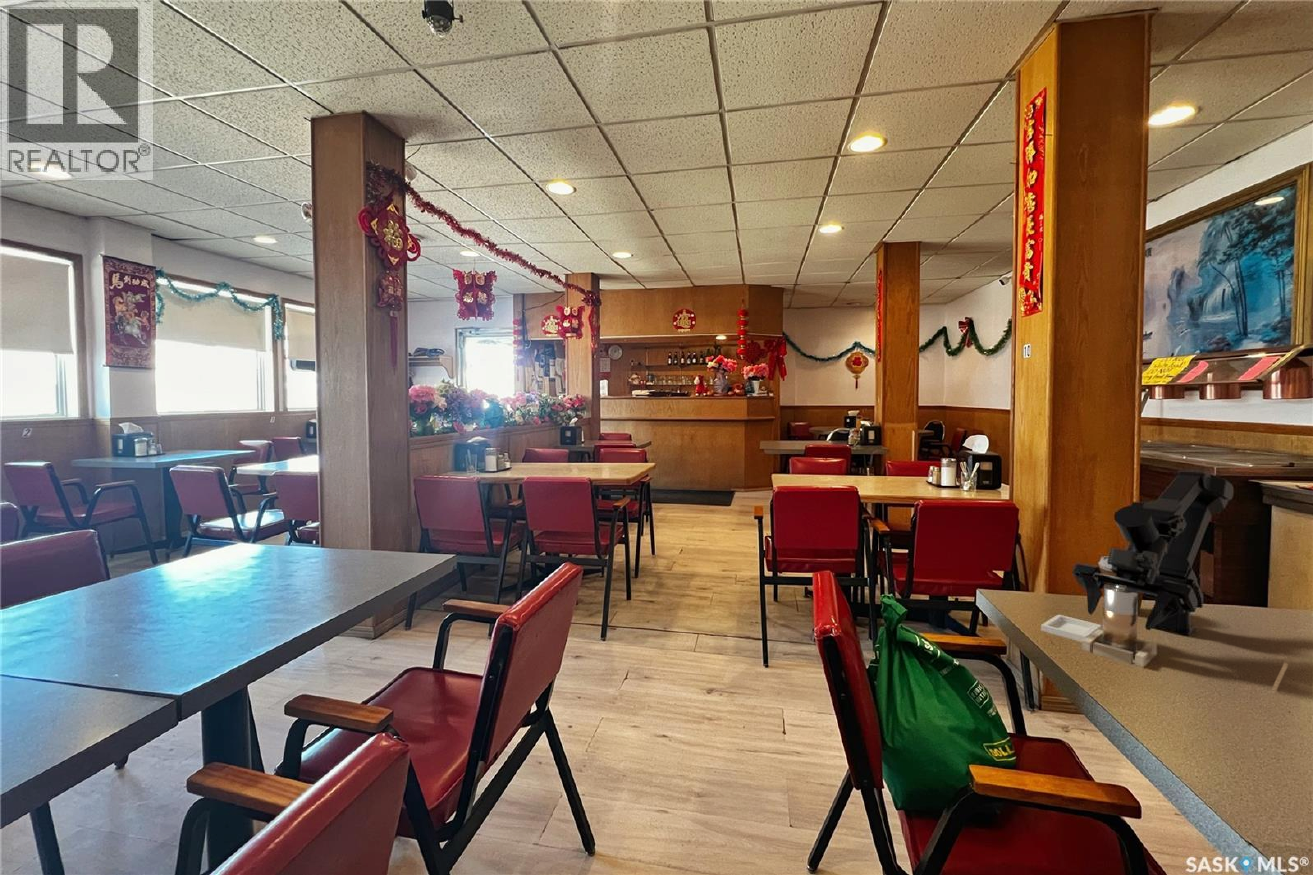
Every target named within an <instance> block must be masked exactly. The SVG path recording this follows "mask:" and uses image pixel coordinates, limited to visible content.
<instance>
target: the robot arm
mask: <svg viewBox="0 0 1313 875" xmlns="http://www.w3.org/2000/svg"><path fill="white" fill-rule="evenodd" d="M1233 497H1234V486H1233V484H1232V483H1230V482H1229V481H1228V480H1226V479H1225V478H1219V477H1217V476H1214V475H1211V474H1210V473H1208V472H1205V471H1197V470H1196V471H1195V470H1183V469H1182V470H1178V471H1176V473H1175V475H1174V479H1173V480H1172V482H1171V483H1170V484H1169V485H1168V486H1167V487H1166V489H1165V490H1164V491H1163V492H1162V493H1161V494H1160V495H1159V497H1158V498H1157V499H1155V500H1151V501H1146V502H1139V501H1132V503H1131V505H1128V506H1124V507H1121V508H1120V509H1118V510H1117V511H1116V512H1114V516H1113V519H1114V522H1115V523H1116V526H1117V528H1118V529H1119V531H1120V533H1121V535H1122V537H1123V539H1124V540H1126V541H1127V542H1128V545H1127V546H1126V549H1120V548H1114V547H1110V549H1109V552H1108V556H1109V557H1108V561H1107V563H1108V564H1111V565H1112V568H1111V570H1112V572H1113V573H1116V575H1115V576H1110V575H1105V574H1102V572H1101V568H1100V566H1099V565H1093V564H1091V565H1090V564H1087V563H1082V562H1079V563H1076V564H1075V565H1074V566H1073V568H1072V570H1071V573H1072V575H1073V577H1074V578H1075V579H1076V582H1077V583H1078V585H1079V586H1080V587H1082V588H1084V590H1085V591H1086V599H1087V600H1086V601H1087V612H1088V614H1089V615H1091V616H1092V615H1093V614H1094V613H1095V611H1096V609H1097V607H1098V604H1099V602H1100V600H1101V597H1102V596H1103V591H1102V590H1104V589H1103V587H1104V585H1105V584H1107V585H1111V586H1115V585H1124V586H1127V588H1129V589H1133V590H1135V591H1138V592H1142V593H1143V598H1148V599H1153V600H1154V605H1153V607H1152V609H1151V611H1150V613H1149V615H1148V617H1147V619H1146V622H1145V625H1144V626H1145V629H1146V630H1147V631H1150V630H1151V629H1157V630H1161V631H1165V632H1169V633H1173V634H1178V635H1182V636H1188V637H1189V636H1190V635H1191V634H1192V633H1193V632H1194V631H1195V630H1196V627H1195V626H1194V625H1191V613H1195V612H1196V609H1197V608H1198V609H1202V608H1204V605H1203V604H1204V593H1203V591H1202V589H1201V587H1200V585H1199V582H1198V578H1197V577H1196V574H1195V572H1194V570H1193V568H1192V567H1193V564H1194V561H1195V558H1196V557H1197V553H1198V552H1199V549H1200V546H1201V544H1202V541H1203V538H1204V535H1205V532H1206V530H1207V528H1208V525H1209V522H1210V519H1211V518H1212V516H1214V515H1215V514H1217V513H1219V512H1222V511H1223V510H1225V509H1226V506H1227V504H1228V502H1229V501H1231V500H1232V499H1233ZM1165 537H1168V538H1169V537H1171V539H1170V541H1169V543H1168V541H1167V540H1166V539H1165Z"/></svg>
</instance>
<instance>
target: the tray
mask: <svg viewBox="0 0 1313 875" xmlns="http://www.w3.org/2000/svg"><path fill="white" fill-rule="evenodd" d="M1098 629H1099V630H1103V624H1098V623H1095V622H1091V621H1087V620H1082V619H1078V618H1075V617H1070V616H1067V615H1063V614H1057V615H1055V616H1053V617H1051V618H1050V619H1048V620H1047V621H1045V622H1044V623H1042V624H1041V625H1040V631H1041V632H1044V633H1047V634H1051V635H1054V636H1058V637H1060V638H1065V639H1068V640H1073V641H1075V642H1080V643H1082V641H1083V640H1084V639H1085V638H1087V637H1088V636H1090V635H1091V634H1092V633H1094V632H1095V631H1096V630H1098Z"/></svg>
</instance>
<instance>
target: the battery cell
mask: <svg viewBox="0 0 1313 875" xmlns="http://www.w3.org/2000/svg"><path fill="white" fill-rule="evenodd" d="M1137 608H1138V592H1137V591H1135V590H1133V589H1129V588H1127V586H1124V585H1115V586H1105V587H1104V589H1103V610H1102V611H1103V613H1102V615H1103V616H1102V630H1103V644H1104V645H1108V646H1112V647H1115V648H1119V649H1123V650H1127V651H1130V652H1133V658H1134V657H1135V655H1136V644H1137V639H1138V614H1139V613H1137Z"/></svg>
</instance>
